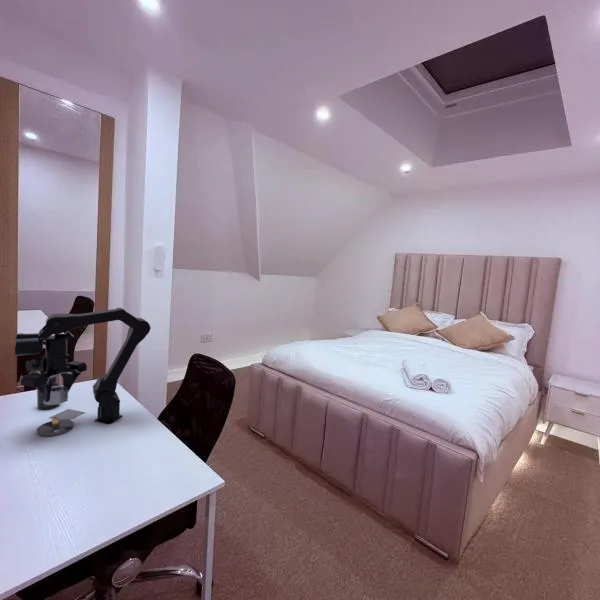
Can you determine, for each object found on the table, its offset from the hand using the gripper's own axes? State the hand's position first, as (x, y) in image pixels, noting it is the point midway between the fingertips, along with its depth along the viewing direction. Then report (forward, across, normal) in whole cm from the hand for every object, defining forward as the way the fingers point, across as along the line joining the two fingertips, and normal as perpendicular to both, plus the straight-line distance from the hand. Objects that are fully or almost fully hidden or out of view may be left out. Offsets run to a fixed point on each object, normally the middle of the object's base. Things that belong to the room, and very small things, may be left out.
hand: (56, 397), depth 109 cm
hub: (+11, 0, 0) cm, 11 cm away
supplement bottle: (+11, -12, -17) cm, 24 cm away
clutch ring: (+1, 0, 0) cm, 1 cm away
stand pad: (+11, -9, -5) cm, 15 cm away
